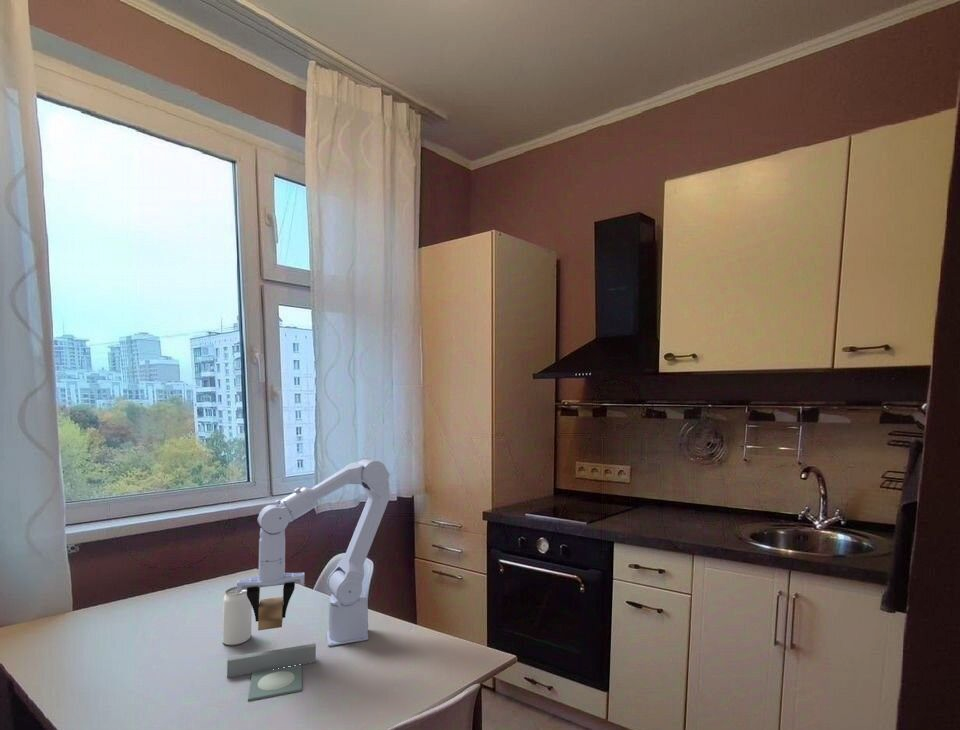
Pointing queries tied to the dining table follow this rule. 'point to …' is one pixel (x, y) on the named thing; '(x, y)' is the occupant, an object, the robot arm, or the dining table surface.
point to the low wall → (270, 660)
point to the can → (236, 617)
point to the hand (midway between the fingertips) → (270, 617)
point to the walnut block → (270, 613)
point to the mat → (275, 682)
